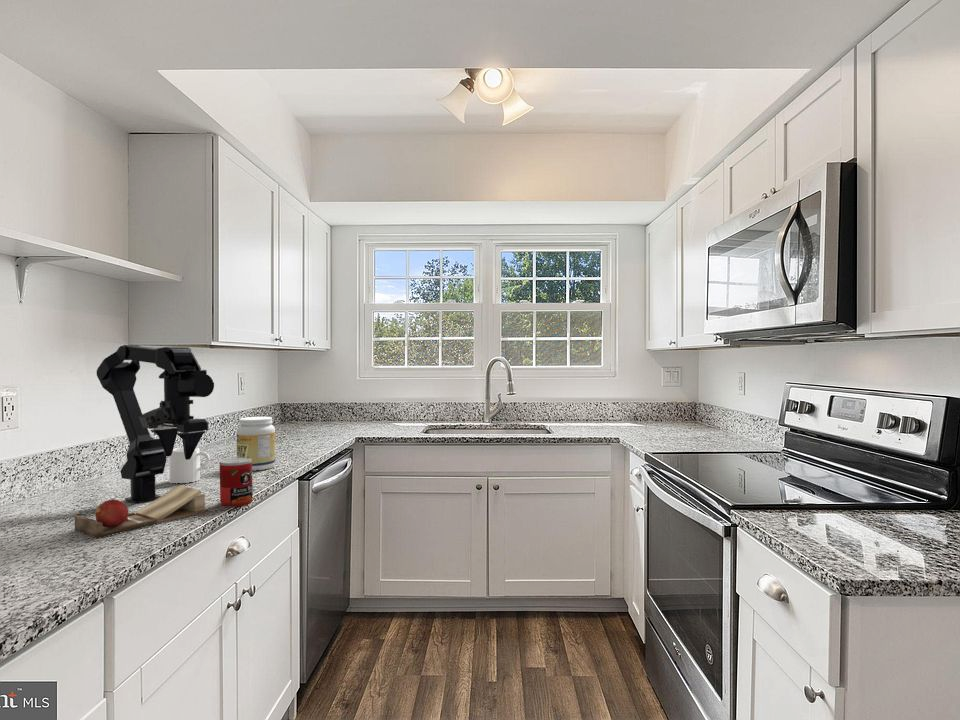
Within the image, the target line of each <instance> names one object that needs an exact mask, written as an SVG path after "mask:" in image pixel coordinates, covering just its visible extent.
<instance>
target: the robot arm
mask: <svg viewBox="0 0 960 720" xmlns="http://www.w3.org/2000/svg"><path fill="white" fill-rule="evenodd" d="M128 361H130V362H128ZM140 362H143V363H149V364H150V363H151V364H154V365H155V366H156V367H157V368H159V369H162V370H163V371H162V373H159V375H158V379H163V396H164V398H163V400H160V402H159V407H157V408H154V409H151V410H149V411H147V412H144V413H143V412H142V408H141V407H140V403H139V401H138V398H137V396H136V391H135V389H134V388H135V385H136V382H137V376H136V375H137V373H138V372H139V370H141V364H140ZM207 373H208V371H207V369H202V368H201V365H200V364H199V362H198V360H197V358H196V357H195V354H194V353H193V351H192V349H191V348H190V347H187V346H185V347H180V346H178V347H177V346H176V347H175V346H163V347H158V348H156V347H149V346H148V347H147V346H140V345H138V344H123V345H120V346H119V347H118V348H117V349H116V351H115V352H113V353H112V354H110V355H109V356H107V357H105V358H104V359H103V360H102V361H101V363H100V364H99V366H98V367H97V369H96V378H97V379H98V380H99V383H100V385H101V387H102V388H103V389H104V390H105V391H106V392H108V393H109V394H110V395H112V397H113V399H114V402H115V406H116V408H117V411H118V414H119V417H120V419H121V422H122V425H123V428H124V430H125V434H126V436H127V439H128V442H129V444H128V448H127V452H126V459H127V460H126V462H125V463H124V465H123V466H122V467H121V469H120V471H119V472H120V476H121V479H124V480H130V496H129V497H125V498H124V500H125V501H127V500H128V501H127V502H131V503H134V502H135V504H139V503H143V502H148V501H154V500H156V499H157V498H159V497H161V496H162V495H158V494H157V493H156V492H157V491H156V490H157V485H156V476H157V475H163V474H164V472H165V469H166V463H167V459H168V457H170V456H171V455H172V452H173V449H175V444H176V439H177V436H178V437H180V439H181V441H182V446H183V448H184V455H185V459H186V460H189V459H191V457H192V454H193V452H194V450H195V448H196V447H198V444H199V442H200V440H201V438H202V437H203V435H204V434H205V433H206V431H208V430H210V429H209V422H208V420H207V419H206V418H195V417H194V415H191V405H194V399H190V398H206V397H209V396H210V395H211V394H212V393H213V391H214V388H215V382H214V380H213V378H212V377H211V376H210V375H209V374H207ZM149 430H150V431H149ZM150 432H152V433H154V434H155V435H157V436H158V438H153V437H152V435H151V434H150Z"/></svg>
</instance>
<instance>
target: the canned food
mask: <svg viewBox="0 0 960 720" xmlns="http://www.w3.org/2000/svg"><path fill="white" fill-rule="evenodd" d="M253 488H254V487H253V471H252V459H250V458H237V457H231V458H226V459H222V460H220V461H219V495H220V496H219V497H220V498H219V501H220V505H221V506H223V507H226V506H227V507H229V508H230V507H231V508H235V507H243V506H245V505H249V504H251V503H252V502H253V498H254V495H253V493H254V491H253ZM227 507H226V508H227Z"/></svg>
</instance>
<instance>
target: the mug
mask: <svg viewBox="0 0 960 720" xmlns="http://www.w3.org/2000/svg"><path fill="white" fill-rule="evenodd" d="M200 456H202V457H203V456H204V458H205V462H204V463H203V465H202V466H201V463H200V462H201V457H200ZM210 461H211V458H210V455H209V453H207V452H205V451H201V450H200V447H198V446H196V448H195V450H194V452H193V454H192V457H191V459H189V460H186V459H185V455H184V448H183V447H174V448H173V452H172V455H171V456H169V483H170V484H172V483H176V484H175V485H178V484H177V483H187V484H190V483H189V482H193V483H196V482H195V481H197V482H199V481H200V480H201V472H200V471H203V470H204V469H207V467H209V464H210ZM198 480H199V481H198Z"/></svg>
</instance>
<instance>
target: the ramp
mask: <svg viewBox="0 0 960 720" xmlns="http://www.w3.org/2000/svg"><path fill="white" fill-rule="evenodd" d="M160 496H161V497H159V498H157V499H153V500H152V501H151V502H150V503H148V504H146V505H145V506H144V507H142V508H140V509H139V510H137V511H135V514H138V515H142V516H145V517H148V518H152V519H157V520H162V519H164V518H165V517H166V516H168V515H169V514H171V513H172V512H174V511H175V510H177V509H178V508H183V509H187V510H190V511H194V512H196V511H200V510H204V513H205V512H206V502H205V501H206V495H205V493H202V491H201V489H197V488H193V487H189V486H183V485H181V484H177V485H176V486H174V487H173V488H172V489H169V490H168V491H167V492H165V493H164V494H162V495H160Z"/></svg>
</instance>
